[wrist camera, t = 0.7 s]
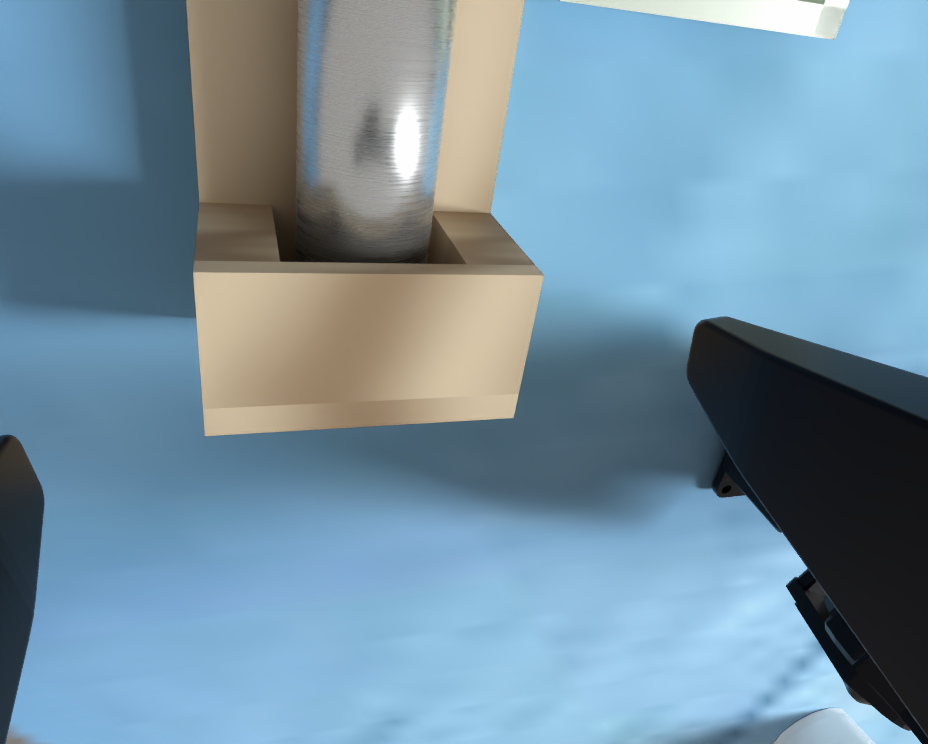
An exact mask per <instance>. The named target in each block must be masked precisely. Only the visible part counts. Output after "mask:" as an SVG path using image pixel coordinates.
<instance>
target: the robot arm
mask: <svg viewBox="0 0 928 744" xmlns="http://www.w3.org/2000/svg"><path fill="white" fill-rule="evenodd" d="M687 378H688V381H689V384H690V386H691V388H692V390H693V392H694V393H695V395H696V397H697V399H698V401H699V402H700V404H701V406H702V408H703V410H704V411H705V413H706V415H707V417H708V419H709V420H710V422H711V424H712V426H713V428H714V429H715V431H716V433H717V435H718V436H719V438H720V440H721V442H722V444H723V445H724V447H725V449H726V451H727V452H726V454H725V457H724V459H723V461H722V464H721V466H720V468H719V471H718V473H717V475H716V478H715V480H714V483H713V485H712V489H713V491H714V492H715V493H716V495H717V496H719V497H732V496H742V495H746V496H747V497H748V498H749V499H750V501H751V502H752V503H753V504H754V505H755V506H756V507H757V509H758V510H759V511H760V512H761V513H762V514H763V515H764V516H765V518H766V519H767V520H768V521H769V522H770V523H771V524H772V525H773V527H774V528H775V529H776V530H777V531H778V532H782V533H783V534H784V535H785V537H786V538H787V540H788V541H789V543H790V544H791V545H792V547H793V548H794V550H795V551H796V552H797V554H798V555H799V557H800V558H801V559H802V561H803V562H804V564H805V565H806V566H807V568H808V569H807V570H806V571H804V572H803V573H802V574H801V575H800V576H799V577H794V578H793V579H792V580H791V581H790V582H789V583H788V584H787V585H786V587H787V589H788V590H789V592H790V594H791V595H792V597H793V598H794V600H795V601H796V603H795V605H796V607H797V609H798V610H799V612H800V613H801V615H802V616H803V618H804V620H805V621H806V623H807V624H808V626H809V628H810V629H811V631H812V632H813V634H814V635H815V637H816V639H817V640H818V642H819V643H820V645H821V646H822V648H823V650H824V651H825V653H826V654H827V656H828V658H829V659H830V661H831V662H832V664H833V665H834V667H835V669H836V670H837V672H838V673H839V675H840V676H841V678H842V679H843V682H844V684H845V686H846V689H847V691H848V692H849V694H850V695H851V696H852V697H853V698H854V699H855V700H856V701H857V702H859V703H863V704H868V705H872V706H873V707H874V708H875V709H877V710H878V711H879V712H880V713H881V714H882V715H884V716H885V717H886V718H888V719H889V720H890V721H891V722H893V723H895V724H896V725H898V726H899V727H901V728H903V729H906V730H908V731H910V730H911V731H912V732H913V733H914V734H915V736H916V737H917V738H918V739H919V741H920V742H921V743H922V744H928V377H925V376H921V375H918V374H915V373H911V372H908V371H905V370H902V369H898V368H895V367H892V366H888V365H885V364H882V363H879V362H875V361H872V360H869V359H865V358H862V357H859V356H855V355H852V354H849V353H846V352H842V351H839V350H836V349H832V348H829V347H826V346H823V345H819V344H816V343H813V342H809V341H806V340H803V339H799V338H796V337H793V336H790V335H786V334H783V333H780V332H776V331H773V330H770V329H767V328H763V327H760V326H757V325H753V324H750V323H747V322H743V321H740V320H737V319H734V318H730V317H717V318H711V319H705V320H701V321H700V322H699V323H698V324H697V325H696V327H695V329H694V333H693V338H692V343H691V348H690V353H689V358H688V363H687ZM43 514H44V494H43V490H42V486H41V484H40V482H39V480H38V478H37V475H36V473H35V471H34V469H33V467H32V465H31V463H30V461H29V459H28V457H27V455H26V453H25V451H24V448H23V446H22V444H21V443H20V441H19V440H18V439H17V438H16V437H14V436H12V435H1V436H0V744H5V743H6V738H7V734H8V729H9V725H10V721H11V716H12V712H13V707H14V703H15V699H16V694H17V690H18V685H19V681H20V677H21V672H22V668H23V663H24V659H25V655H26V650H27V646H28V641H29V637H30V632H31V627H32V622H33V617H34V609H35V601H36V591H37V580H38V569H39V558H40V547H41V536H42V525H43Z"/></svg>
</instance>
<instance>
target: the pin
mask: <svg viewBox="0 0 928 744" xmlns="http://www.w3.org/2000/svg"><path fill="white" fill-rule="evenodd" d="M457 2H458V0H298V53H297V153H296V253H295V262H330V263H403V264H427V259H428V251H429V242H430V233H431V225H432V216H433V208H434V199H435V191H436V182H437V173H438V165H439V156H440V148H441V139H442V131H443V122H444V113H445V105H446V96H447V88H448V79H449V71H450V62H451V53H452V45H453V36H454V28H455V19H456V11H457Z"/></svg>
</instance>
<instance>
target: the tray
mask: <svg viewBox="0 0 928 744" xmlns="http://www.w3.org/2000/svg"><path fill="white" fill-rule="evenodd" d="M559 1H565V2H572V3H579V4H586V5H593V6H600V7H608V8H615V9H622V10H629V11H636V12H643V13H650V14H657V15H664V16H671V17H678V18H685V19H692V20H699V21H706V22H713V23H720V24H727V25H735V26H742V27H749V28H756V29H763V30H770V31H777V32H784V33H791V34H798V35H805V36H812V37H819V38H826V39H833V40H835V38H836V35H837V32H838V30H839V27H840V24H841V22H842V19H843V16H844V14H845V11H846V8H847V6H848V3H849V1H850V0H559Z"/></svg>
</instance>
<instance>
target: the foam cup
mask: <svg viewBox="0 0 928 744" xmlns="http://www.w3.org/2000/svg"><path fill="white" fill-rule="evenodd" d="M774 744H875V743H874V742H873V741H872V740H871V739H870V738H869V737H868V736H867V735H866V734H865V733H864V732H863V731H862V730H861V729H860V728H859V726H858V725H857V724H856V723H855V722H854V721H853V720H852V719H851V718H850V717H849V716H847V715H846V714H845V712H844V711H843V710H842V709H841V708H827V709H824V710H820V711H817V712H814V713H812V714H810V715H808V716H806V717H804V718H802V719H800V720H798V721H796V722H795V723H794V724H793V725H791V726H790V727H789V728H787V729H786V730H785V731H784V732H782V733H781V735H780V736H779V737H778V738H777V740H776V741H775V742H774Z"/></svg>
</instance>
